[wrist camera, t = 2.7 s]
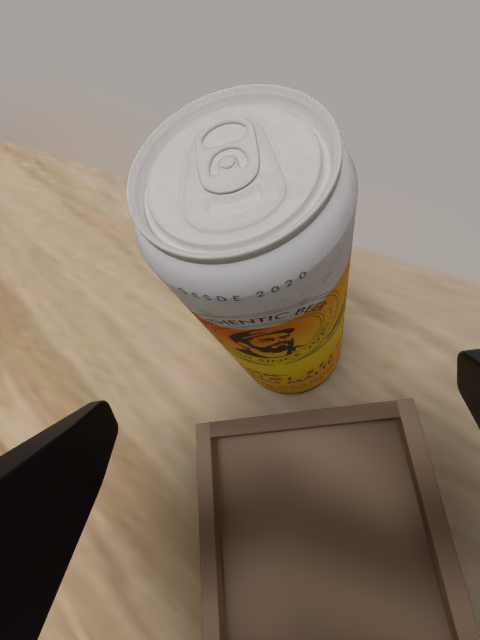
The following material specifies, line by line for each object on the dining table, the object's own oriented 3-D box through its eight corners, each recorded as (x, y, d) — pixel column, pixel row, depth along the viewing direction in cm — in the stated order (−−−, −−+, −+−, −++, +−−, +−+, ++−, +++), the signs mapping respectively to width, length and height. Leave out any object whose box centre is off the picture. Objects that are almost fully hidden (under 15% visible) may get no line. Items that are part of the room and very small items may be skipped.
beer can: (249, 403, 21) (107, 301, 7) (238, 313, 23) (115, 114, 10) (350, 386, 20) (398, 234, 6) (328, 294, 22) (327, 44, 9)
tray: (481, 683, 14) (501, 712, 13) (216, 676, 16) (204, 700, 15) (405, 403, 19) (413, 398, 17) (206, 426, 21) (195, 423, 19)
